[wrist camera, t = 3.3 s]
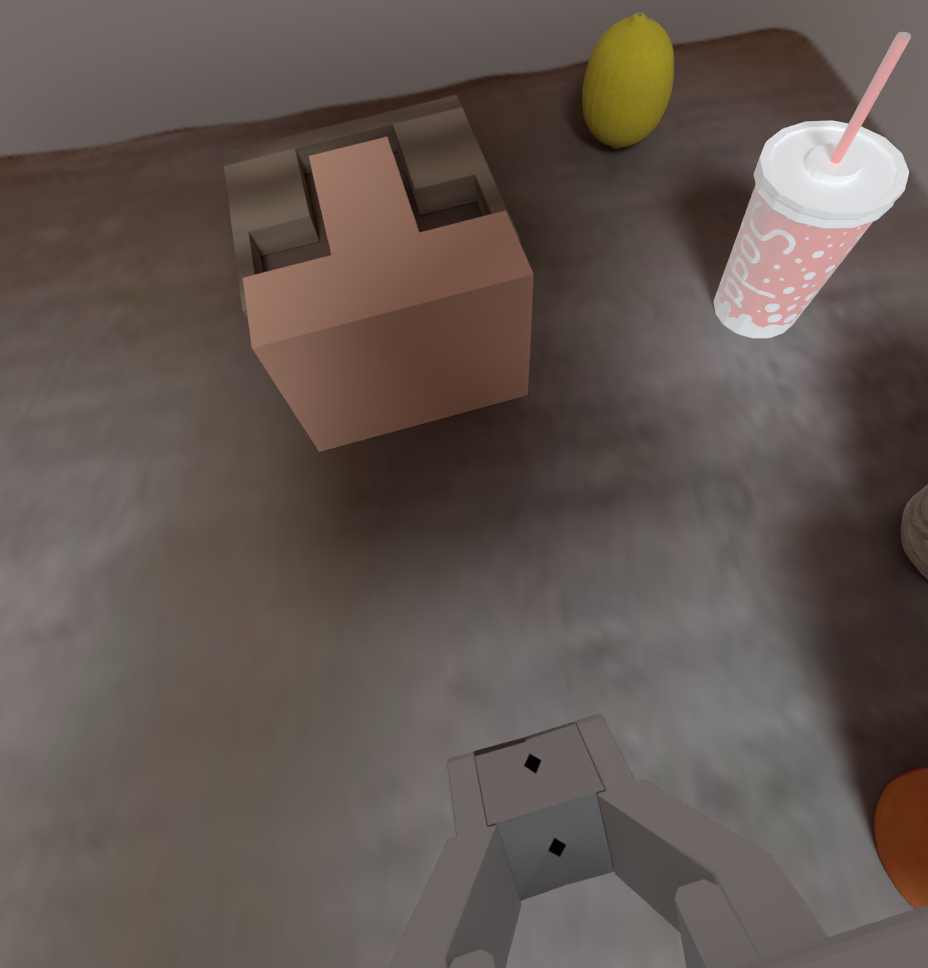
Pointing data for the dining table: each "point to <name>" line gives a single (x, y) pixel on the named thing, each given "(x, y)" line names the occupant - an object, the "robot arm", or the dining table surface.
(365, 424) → the t block
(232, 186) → the t dock
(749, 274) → the beverage cup
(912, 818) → the paper cup
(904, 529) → the carving
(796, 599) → the dining table surface
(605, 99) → the lemon
